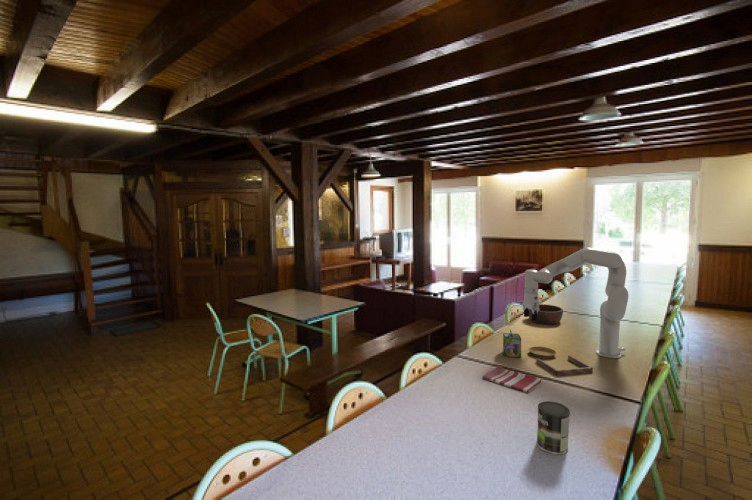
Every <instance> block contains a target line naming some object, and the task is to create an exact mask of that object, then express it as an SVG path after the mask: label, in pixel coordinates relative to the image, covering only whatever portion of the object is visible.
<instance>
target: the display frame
mask: <svg viewBox="0 0 752 500" xmlns="http://www.w3.org/2000/svg"><path fill="white" fill-rule="evenodd" d="M567 360H568V361H569V362H571V363H573V364H575V365H577V366H578V367H575V368H567V369H566V368H565V369H556V368H555V367H553V366H552V365H550V364H549V363H546V362H545V361H543V360H542V359H541V358H540V357H536V359H535V362H536V363H537V364H538V365H539V366H540V367H542V368H544V369H545V370H546V371H548V372H550V373H551V374H553V375H554V376H556V377H559V376H568V375H569V376H571V375H578V374H579V375H581V374H589V373H590V374H591V373H593V372H594V367H593V366H591V365H589V364H587V363H585V362H583V361H582V360H579V359H578V358H575V357H574V356H572V355H569V354H568V355H567Z"/></svg>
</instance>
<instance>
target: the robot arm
mask: <svg viewBox="0 0 752 500" xmlns="http://www.w3.org/2000/svg"><path fill="white" fill-rule="evenodd" d="M587 264H589V265H593V266H598V267H605V268H607V269H608V275H607V281H606V285H605V288H604V289H605V290H604V293H605V295H606V297H607V300H604V301H603V302H602V303H601V304H600V307H599V313H600V314H599V317H600V323H599V325H600V327H599V347H598V349H596V350H595V353H596V354H597V355H598V356H600V357H603V358H608V359H620V358H621V357H622V353H621V352H626V348H625V347H620V346H619V344H620V325H621V324H620V323H621V320H623V318H624V317H625V315H626V311H627V306H628V302H629V291H628V289H627V288H626V287H625V285H626V279H627V267H626V264H625V262H624V260H623V258H622V256H621V255H620V254H619V253H617V252H614V251H612V250H611V251H610V250H607V251H605V250H600V249H595V248H593V247H589V246H588V247H587V246H586V247H583V248H581V249H579V250H578V251H575V252H573V253H572V254H570V255H568V256H566V257H564V258H562V259H559V260H558V261H555V262H553V263H550V264H548V265H547V266H545V267H543V268H541V269H539V270H536V269H526V270H525V271H524V290H523V291H524V294H523V301H522V303H521V304H522V308H523V317H524V318H527V317H529V309H531V310H532V313H533V314H532V321H531V322H533V321H535V320H537V314H538V312H539V310H540V309H539V304H540V297H539V293H538V292H539V283H542V284H550V283H551V282H552V281H553V279H554V277H556V276H557V275H560V274H563V273H569V272H573V271H575V270H577V269H578V268H580V267H583V266H585V265H587ZM533 308H535V309H533ZM534 310H535V311H534Z"/></svg>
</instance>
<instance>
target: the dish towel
mask: <svg viewBox="0 0 752 500" xmlns="http://www.w3.org/2000/svg"><path fill="white" fill-rule="evenodd" d="M482 379H483V380H485V381H489V382H492V383H495V384H497V385H501V386H504V387H508V388H509V389H513V390H516V391H519V392H523V393H525V394H530V393H531V392H532V391H533V390H535V389H536V388H538V387H539V386H540V385H541V384H542V383H543V382H542V379H541V378H540V377H536V376H533V375H531V374H524V373H522V372H518V371H514V370H510V369H507V368H503V366H500V365H498V366H497V367H496V368H495V369H493V370H491V371H488V372H486V373H485V374H483V375H482Z"/></svg>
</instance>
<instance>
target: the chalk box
mask: <svg viewBox="0 0 752 500" xmlns="http://www.w3.org/2000/svg"><path fill="white" fill-rule="evenodd" d="M502 338H503V339H502V354H503V355H504V357H507V358H522V337H521V335H520V334H519V333H513V332H512V330H511V329H509V332H504V333H502Z"/></svg>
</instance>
